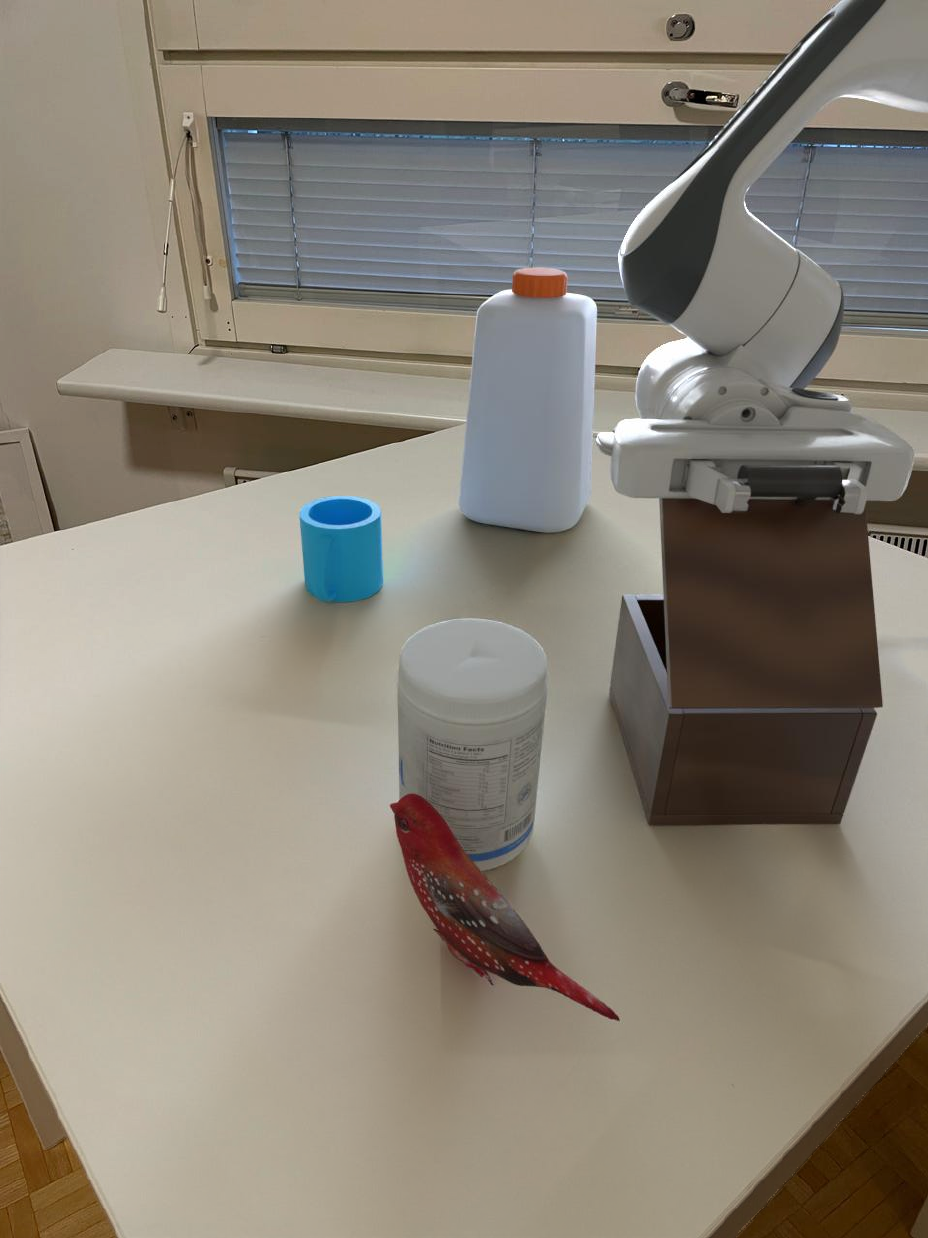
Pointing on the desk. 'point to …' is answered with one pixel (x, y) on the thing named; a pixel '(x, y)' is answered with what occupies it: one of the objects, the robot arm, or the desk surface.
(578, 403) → the plastic bottle
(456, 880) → the decorative bird figurine
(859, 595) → the chest lid
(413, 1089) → the desk surface
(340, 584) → the mug
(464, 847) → the supplement tub
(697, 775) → the chest
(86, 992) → the desk surface
